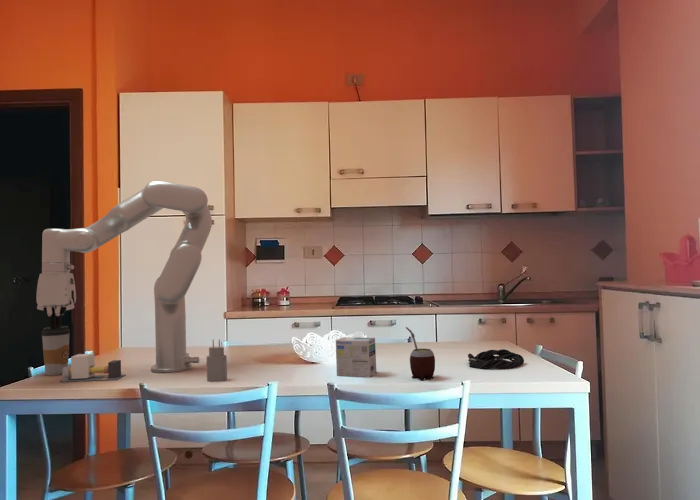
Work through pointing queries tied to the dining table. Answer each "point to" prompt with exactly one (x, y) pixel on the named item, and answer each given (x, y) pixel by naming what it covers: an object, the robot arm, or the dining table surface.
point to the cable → (495, 359)
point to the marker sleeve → (82, 365)
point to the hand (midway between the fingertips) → (55, 328)
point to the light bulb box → (356, 356)
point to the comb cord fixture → (111, 369)
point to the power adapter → (216, 364)
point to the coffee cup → (55, 349)
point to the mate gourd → (421, 362)
